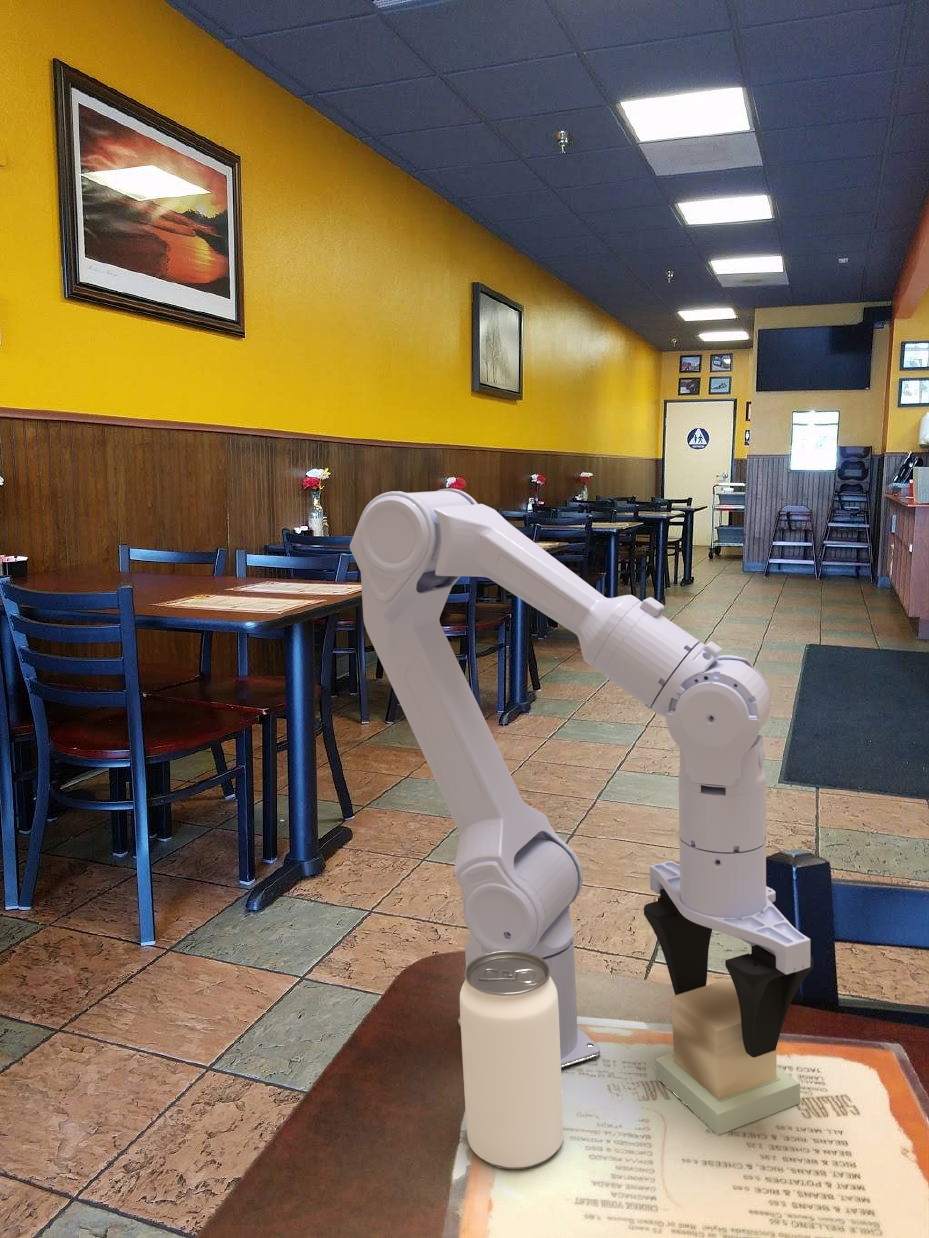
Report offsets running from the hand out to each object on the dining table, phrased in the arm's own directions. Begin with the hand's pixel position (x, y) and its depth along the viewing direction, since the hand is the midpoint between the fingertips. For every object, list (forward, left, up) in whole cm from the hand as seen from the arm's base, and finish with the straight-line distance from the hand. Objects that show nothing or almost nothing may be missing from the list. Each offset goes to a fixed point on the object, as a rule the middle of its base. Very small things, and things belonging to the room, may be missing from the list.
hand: (723, 1022), depth 67 cm
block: (0, 0, -4) cm, 3 cm away
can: (-2, -15, -5) cm, 16 cm away
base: (0, 0, -5) cm, 5 cm away
